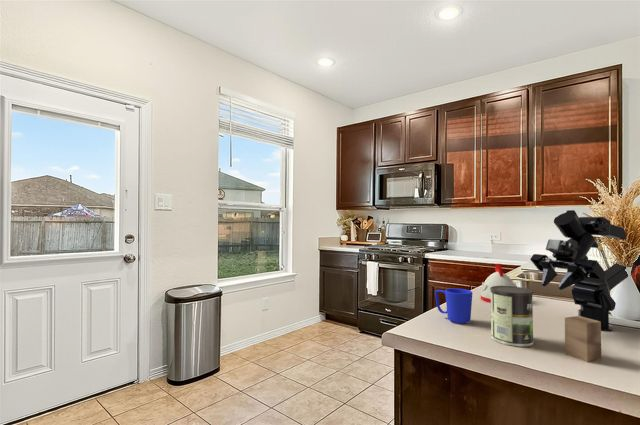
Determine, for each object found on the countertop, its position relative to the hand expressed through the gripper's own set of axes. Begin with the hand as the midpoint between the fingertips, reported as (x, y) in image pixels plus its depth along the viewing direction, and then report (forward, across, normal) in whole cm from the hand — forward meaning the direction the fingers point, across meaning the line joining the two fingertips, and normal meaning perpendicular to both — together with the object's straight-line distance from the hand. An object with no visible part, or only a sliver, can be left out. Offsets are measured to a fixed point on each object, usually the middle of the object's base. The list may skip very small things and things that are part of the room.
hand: (551, 287), depth 97 cm
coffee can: (+21, 0, -1) cm, 21 cm away
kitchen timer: (-3, -35, +23) cm, 42 cm away
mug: (+23, -20, -3) cm, 30 cm away
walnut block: (+16, +14, +4) cm, 21 cm away
